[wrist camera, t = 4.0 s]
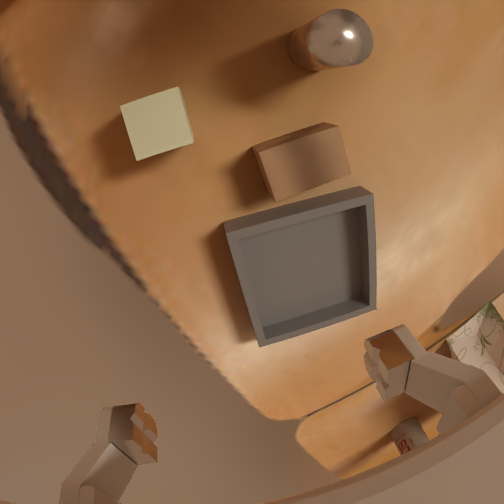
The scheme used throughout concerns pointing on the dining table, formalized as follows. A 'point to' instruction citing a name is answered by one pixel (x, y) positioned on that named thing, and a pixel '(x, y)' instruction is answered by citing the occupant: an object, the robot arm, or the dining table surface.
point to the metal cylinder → (331, 41)
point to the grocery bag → (481, 344)
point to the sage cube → (157, 123)
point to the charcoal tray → (306, 263)
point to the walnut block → (302, 160)
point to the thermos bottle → (408, 435)
